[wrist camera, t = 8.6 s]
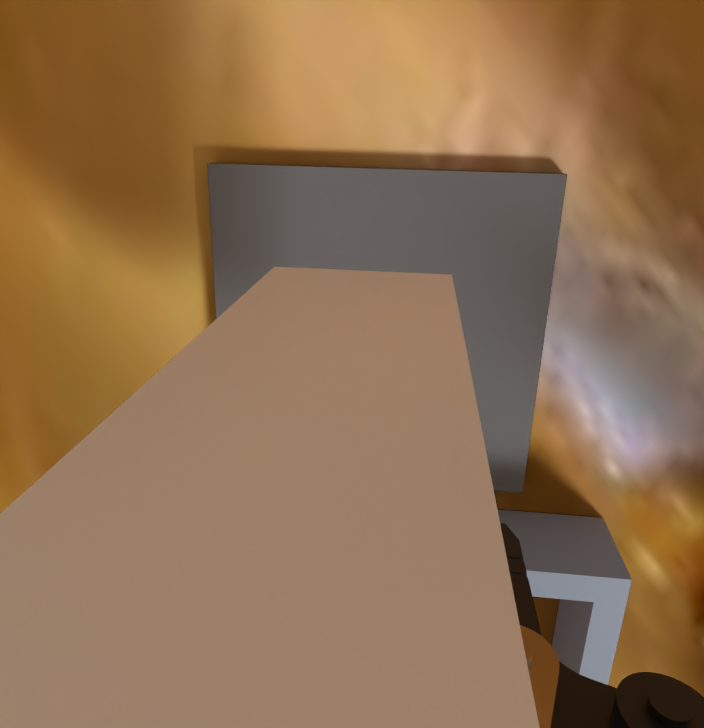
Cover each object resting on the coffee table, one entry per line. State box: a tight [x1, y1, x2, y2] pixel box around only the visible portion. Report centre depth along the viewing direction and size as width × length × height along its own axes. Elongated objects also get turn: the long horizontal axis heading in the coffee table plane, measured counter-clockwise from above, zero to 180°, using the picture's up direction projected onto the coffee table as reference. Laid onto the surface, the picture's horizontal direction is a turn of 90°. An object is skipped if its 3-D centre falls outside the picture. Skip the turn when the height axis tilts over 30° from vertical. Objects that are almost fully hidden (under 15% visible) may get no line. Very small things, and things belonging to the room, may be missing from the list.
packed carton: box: [0, 267, 540, 728], centre depth 11 cm, size 4×9×13 cm, turn 179°
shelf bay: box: [497, 509, 632, 685], centre depth 28 cm, size 14×16×4 cm
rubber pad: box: [207, 163, 567, 493], centre depth 25 cm, size 13×13×1 cm
